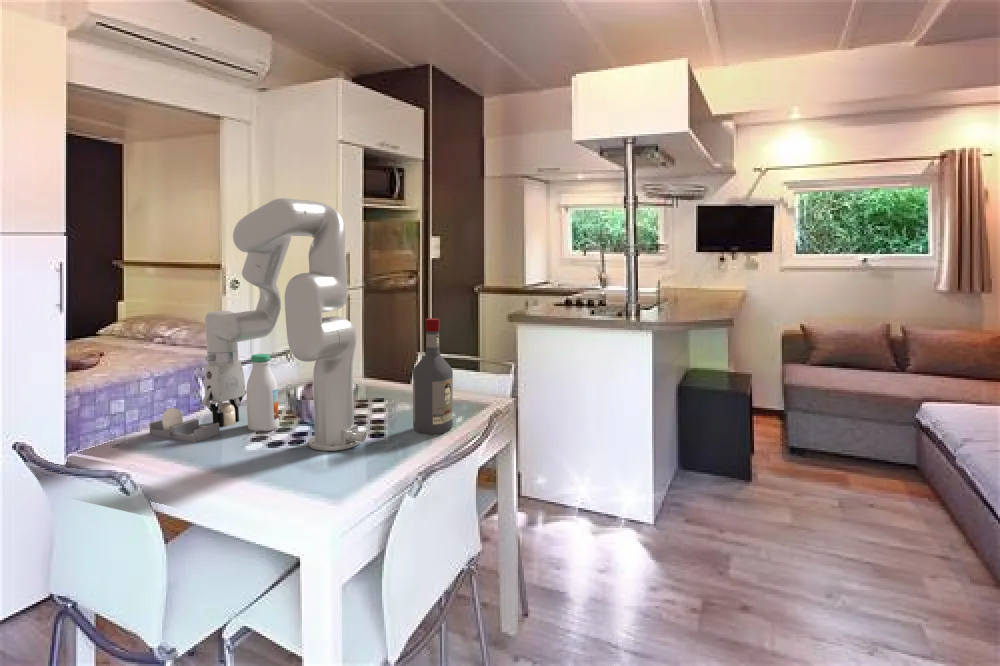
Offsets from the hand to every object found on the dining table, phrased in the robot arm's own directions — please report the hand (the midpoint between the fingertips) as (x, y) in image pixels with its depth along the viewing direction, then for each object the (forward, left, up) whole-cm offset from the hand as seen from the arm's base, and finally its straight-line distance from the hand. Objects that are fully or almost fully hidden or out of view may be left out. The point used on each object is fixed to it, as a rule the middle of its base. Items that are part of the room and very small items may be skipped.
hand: (226, 423), depth 165 cm
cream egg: (+6, +11, 0) cm, 13 cm away
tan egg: (0, 0, -1) cm, 1 cm away
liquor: (-53, -19, -1) cm, 56 cm away
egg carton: (+2, +11, -1) cm, 12 cm away
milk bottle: (-11, -2, -1) cm, 11 cm away
